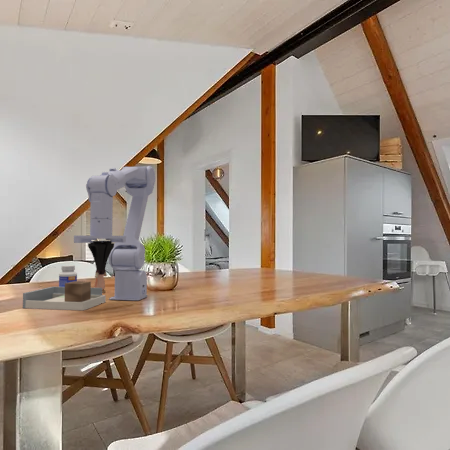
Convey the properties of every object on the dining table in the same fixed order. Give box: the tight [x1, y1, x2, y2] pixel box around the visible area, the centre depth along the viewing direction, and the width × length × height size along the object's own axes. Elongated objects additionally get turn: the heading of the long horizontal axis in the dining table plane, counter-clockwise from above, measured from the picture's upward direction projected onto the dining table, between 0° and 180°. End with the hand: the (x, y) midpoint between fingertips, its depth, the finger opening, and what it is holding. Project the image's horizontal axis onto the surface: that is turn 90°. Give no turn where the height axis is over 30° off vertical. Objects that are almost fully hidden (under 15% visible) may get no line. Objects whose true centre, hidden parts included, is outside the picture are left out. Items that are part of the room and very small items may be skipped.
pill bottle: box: [58, 264, 78, 287], centre depth 120 cm, size 5×5×10 cm
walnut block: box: [65, 280, 92, 302], centre depth 100 cm, size 5×5×5 cm
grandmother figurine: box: [93, 269, 108, 294], centre depth 127 cm, size 8×4×13 cm, turn 5°
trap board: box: [22, 286, 107, 311], centre depth 104 cm, size 18×13×4 cm
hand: (100, 269), depth 100 cm, fingers closed
